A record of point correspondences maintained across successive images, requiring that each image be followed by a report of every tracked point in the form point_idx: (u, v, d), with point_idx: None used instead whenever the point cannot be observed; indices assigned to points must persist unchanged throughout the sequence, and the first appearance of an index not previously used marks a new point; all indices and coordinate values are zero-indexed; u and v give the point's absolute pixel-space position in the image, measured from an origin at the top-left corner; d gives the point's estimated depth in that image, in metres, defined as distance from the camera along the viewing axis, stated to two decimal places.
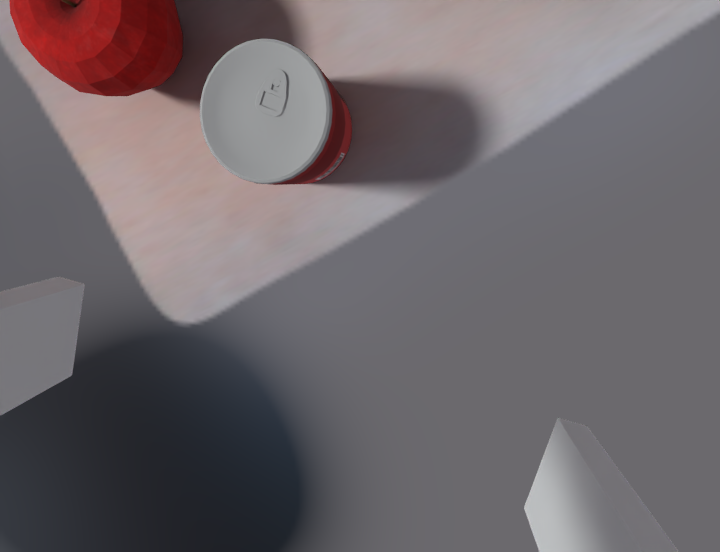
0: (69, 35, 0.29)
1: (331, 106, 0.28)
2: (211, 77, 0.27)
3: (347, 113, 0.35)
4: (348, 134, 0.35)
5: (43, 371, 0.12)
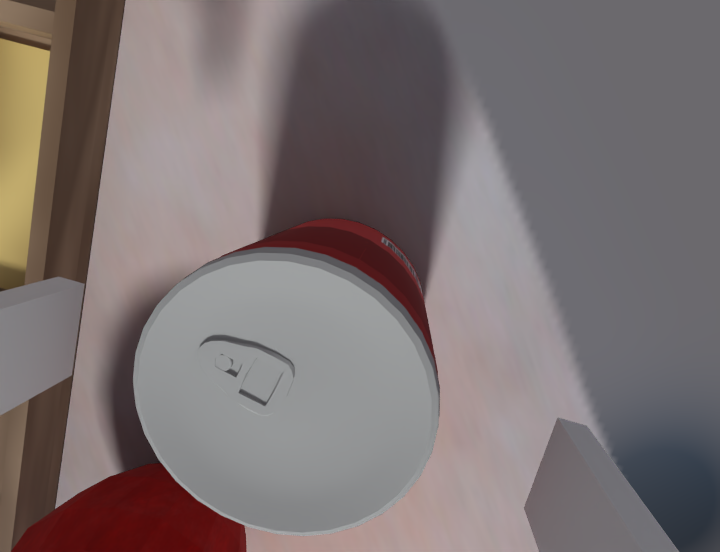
0: None
1: (285, 248, 0.12)
2: (201, 495, 0.13)
3: (314, 222, 0.19)
4: (350, 225, 0.19)
5: (43, 371, 0.12)
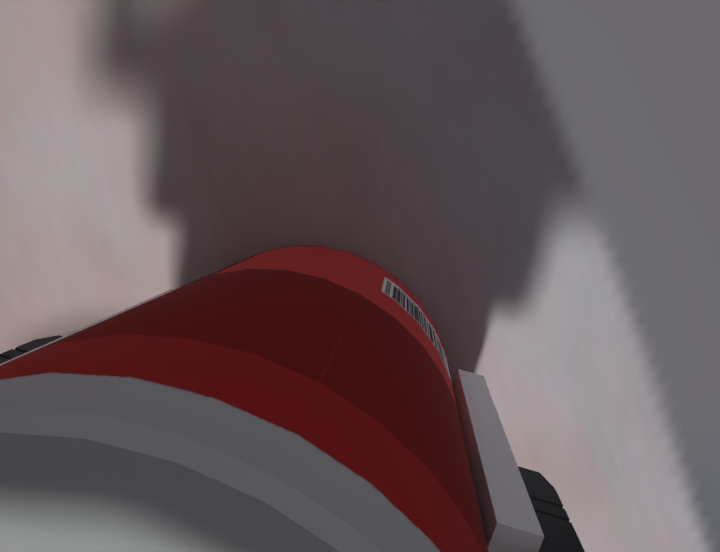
0: None
1: (104, 380, 0.04)
2: None
3: (272, 255, 0.12)
4: (331, 260, 0.12)
5: None
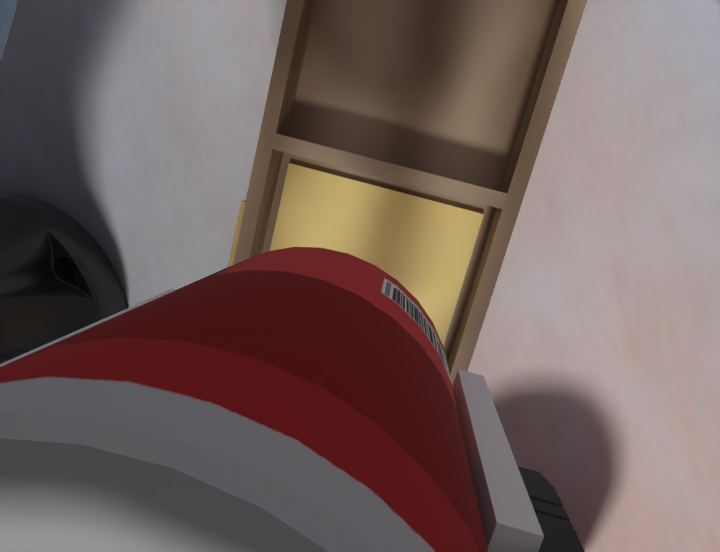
0: None
1: (101, 385, 0.04)
2: None
3: (271, 256, 0.12)
4: (331, 261, 0.12)
5: None
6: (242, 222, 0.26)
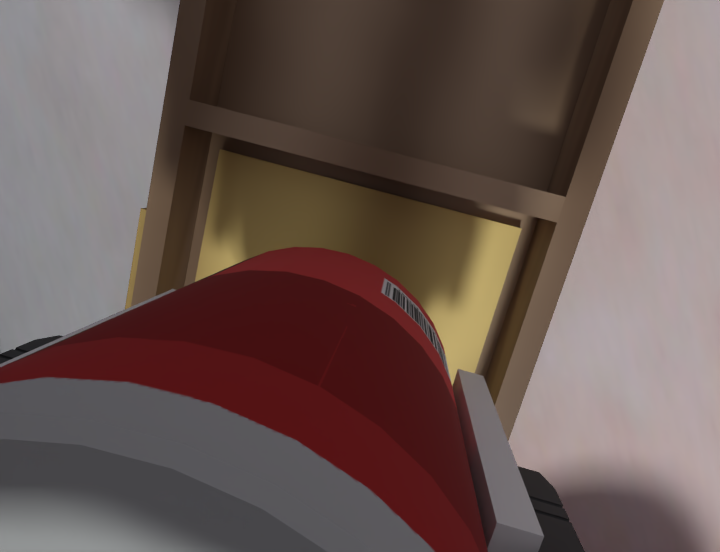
0: None
1: (101, 385, 0.04)
2: None
3: (271, 256, 0.12)
4: (331, 261, 0.12)
5: None
6: (142, 242, 0.16)
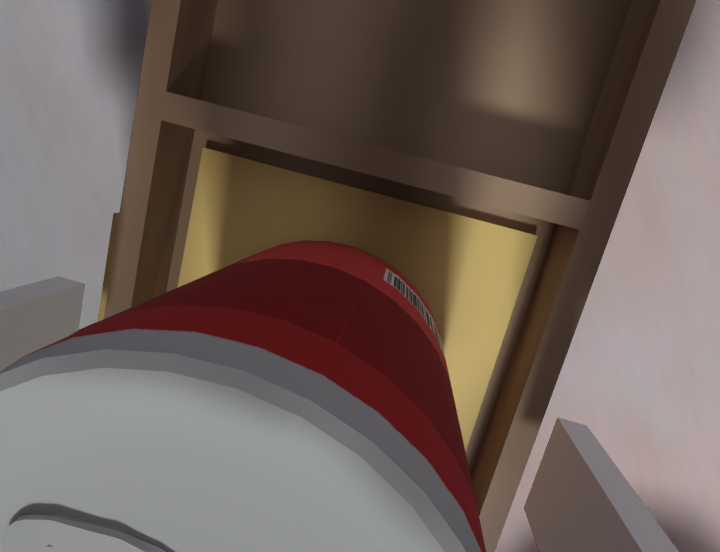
0: None
1: (175, 334, 0.06)
2: None
3: (285, 248, 0.13)
4: (338, 252, 0.13)
5: None
6: (115, 250, 0.15)
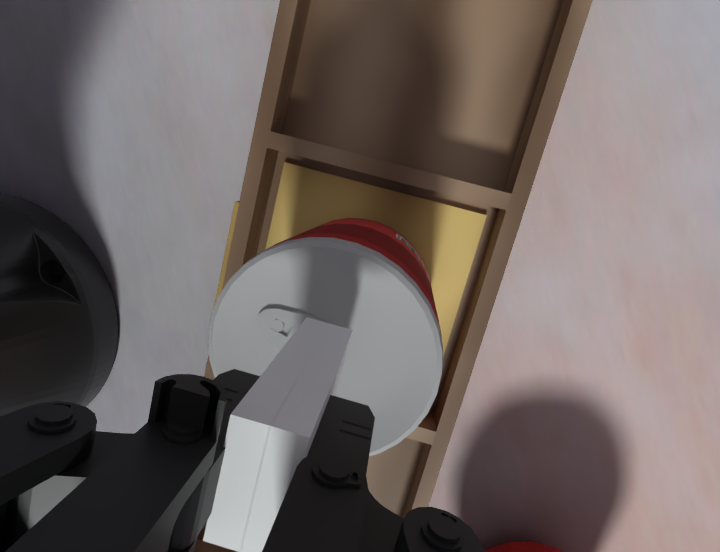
0: None
1: (326, 238, 0.16)
2: None
3: (339, 220, 0.23)
4: (370, 223, 0.23)
5: None
6: (235, 224, 0.25)
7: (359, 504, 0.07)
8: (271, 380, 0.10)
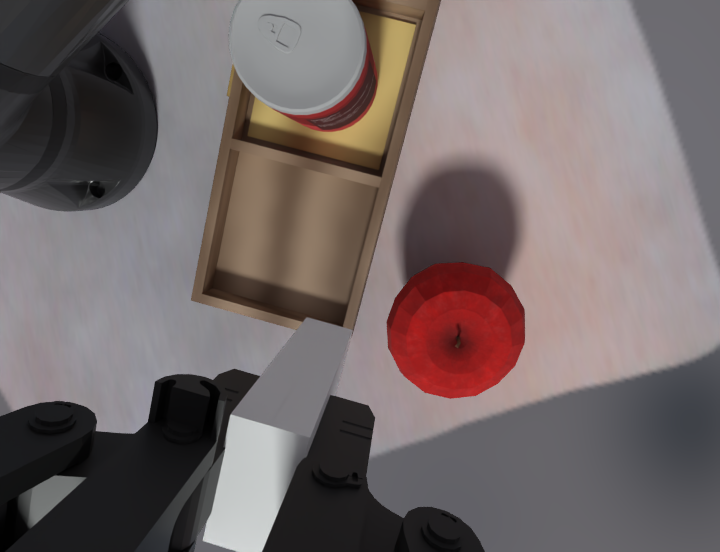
0: (489, 344, 0.32)
1: None
2: (257, 92, 0.28)
3: None
4: None
5: None
6: None
7: (359, 504, 0.07)
8: (271, 380, 0.10)
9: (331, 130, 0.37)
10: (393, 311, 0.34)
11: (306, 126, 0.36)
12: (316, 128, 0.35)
